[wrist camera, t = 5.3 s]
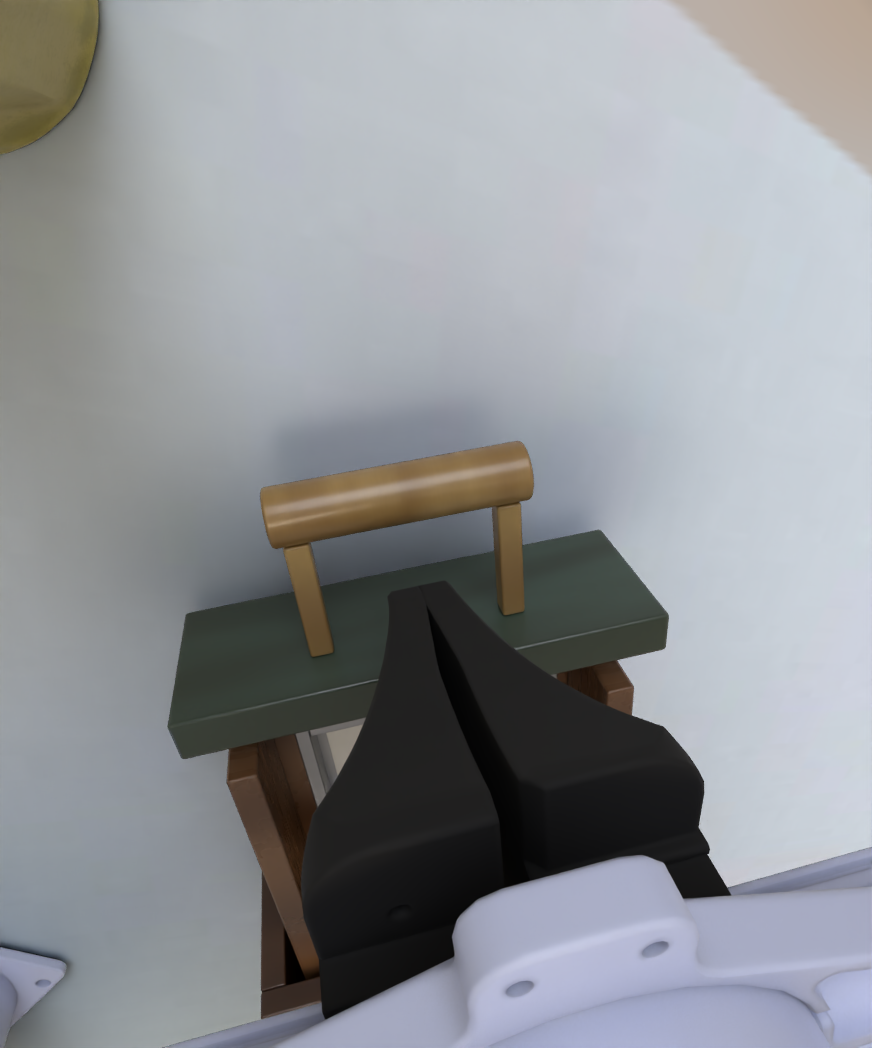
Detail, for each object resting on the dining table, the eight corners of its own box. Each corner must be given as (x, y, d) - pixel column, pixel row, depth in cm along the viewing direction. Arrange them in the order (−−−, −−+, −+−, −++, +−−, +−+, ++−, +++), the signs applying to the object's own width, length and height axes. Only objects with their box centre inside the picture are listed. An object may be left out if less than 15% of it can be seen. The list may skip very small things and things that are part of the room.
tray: (291, 689, 20) (298, 857, 15) (538, 634, 21) (613, 778, 16) (327, 812, 23) (341, 983, 19) (542, 759, 24) (605, 909, 20)
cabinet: (261, 842, 26) (260, 1019, 21) (596, 759, 28) (670, 904, 23) (336, 1036, 35) (348, 1194, 30) (588, 964, 37) (640, 1102, 32)
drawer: (128, 463, 17) (90, 559, 13) (605, 380, 18) (689, 445, 15) (297, 912, 27) (301, 1032, 24) (589, 835, 29) (635, 938, 25)
